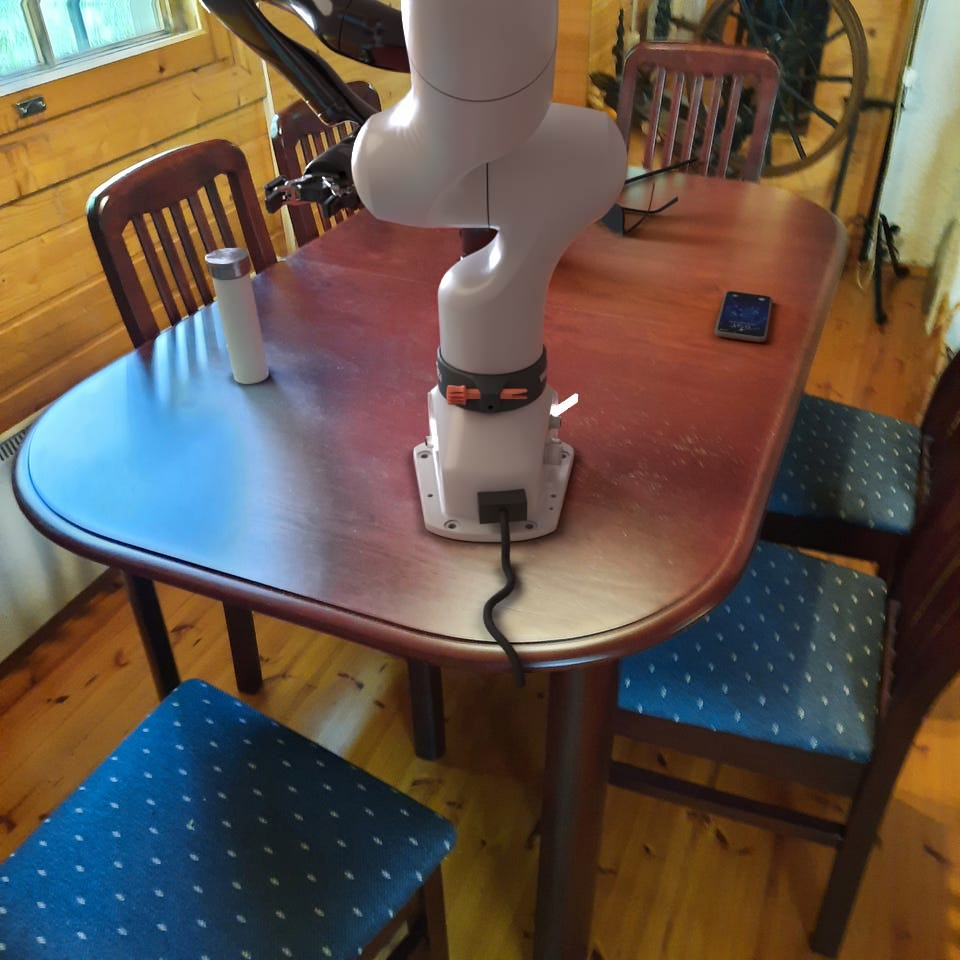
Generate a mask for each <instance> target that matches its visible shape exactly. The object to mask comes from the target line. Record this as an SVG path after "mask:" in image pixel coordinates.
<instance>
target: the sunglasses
mask: <svg viewBox="0 0 960 960" xmlns="http://www.w3.org/2000/svg"><path fill="white" fill-rule="evenodd" d="M655 185H656V183H655V181H653V183H652V189H651V195H650V201H649V206H648V209H647V210H646V209H645V210H643V209H638V208H631V207H625V206H621V205H620V204H619V203H617V202H615V204H614V205H613V207H612V208H611V209H610V210H609V211H608V212H607V213H606V214H605V215H604V216H603V217H602V218H600V219H599V220H598V221H600V222H601V223H602V224H603V225H604V227H606V228H608V229H609V230H611V231H612V232H614V233H616V234H618V235H623V236H624V235H629V234H630V233H632V231H634V230H635V229H636V228H638V227H639V225H641V223H642V222H643V221H644V220H646V218H647V217H648V215H655V214H658V213H661V212H663V211H664V210H666V209H668V208H669V207H671V206H672V205H675V204H676V203H678V201H679V196H676V197H674V198H673V199H671V200H669V201H668V202H667V203H666V204H664V205H662V206H661V207H659V208H658V209H654V210H651V207H652V202H653V196H654V191H655ZM625 212H633V213H639V214H644V215H643V216H642V217H641V218H640V219H639V220H638V221H637V222H635V224H633V225H632V226H630V228H628V229H627V230H626V229H625V228H626V227H625V225H626V213H625Z"/></svg>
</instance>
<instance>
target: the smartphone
mask: <svg viewBox="0 0 960 960" xmlns="http://www.w3.org/2000/svg"><path fill="white" fill-rule="evenodd" d="M773 302H774V301H773V298H772V297H771V296H769V295H763V294H756V293H749V292H743V291H734V290H729V291H726V292H725V293H724V295H723V299H722V301H721V306H720V310H719V312H718V317H717V319H716V322H715V328H714V334H715V335H716V336H717V337H718V338H719V337H720V338H725V339H732V340H739V341H747V342H754V343H764V342H765V341H767V338H768V333H769V328H770V318H771V313H772V307H773Z"/></svg>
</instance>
